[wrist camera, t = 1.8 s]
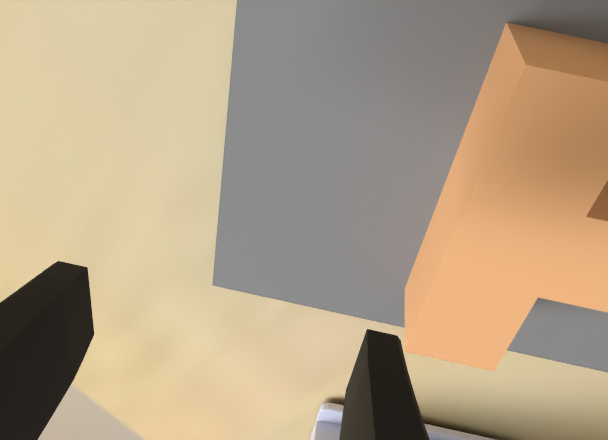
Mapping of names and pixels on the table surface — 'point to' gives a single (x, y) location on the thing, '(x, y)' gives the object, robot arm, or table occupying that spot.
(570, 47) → the t block
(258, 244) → the mat
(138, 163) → the table surface
